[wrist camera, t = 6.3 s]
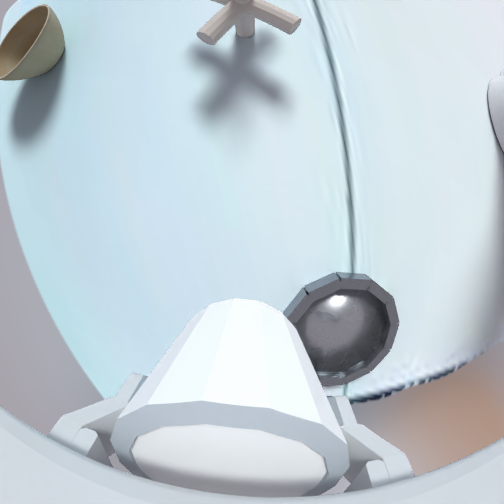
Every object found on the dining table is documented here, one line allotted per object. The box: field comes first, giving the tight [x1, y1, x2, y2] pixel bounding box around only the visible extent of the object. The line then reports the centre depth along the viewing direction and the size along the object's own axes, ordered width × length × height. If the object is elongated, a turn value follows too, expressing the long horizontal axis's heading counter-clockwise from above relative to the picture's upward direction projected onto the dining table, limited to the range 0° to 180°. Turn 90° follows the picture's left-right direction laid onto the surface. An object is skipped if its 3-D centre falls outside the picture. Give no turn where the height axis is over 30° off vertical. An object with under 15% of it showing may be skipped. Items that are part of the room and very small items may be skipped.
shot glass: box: [110, 298, 350, 497], centre depth 9 cm, size 7×7×7 cm
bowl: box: [284, 272, 399, 385], centre depth 25 cm, size 12×12×2 cm
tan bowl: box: [0, 4, 65, 80], centre depth 16 cm, size 10×10×7 cm
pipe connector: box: [197, 0, 301, 45], centre depth 15 cm, size 10×10×10 cm
